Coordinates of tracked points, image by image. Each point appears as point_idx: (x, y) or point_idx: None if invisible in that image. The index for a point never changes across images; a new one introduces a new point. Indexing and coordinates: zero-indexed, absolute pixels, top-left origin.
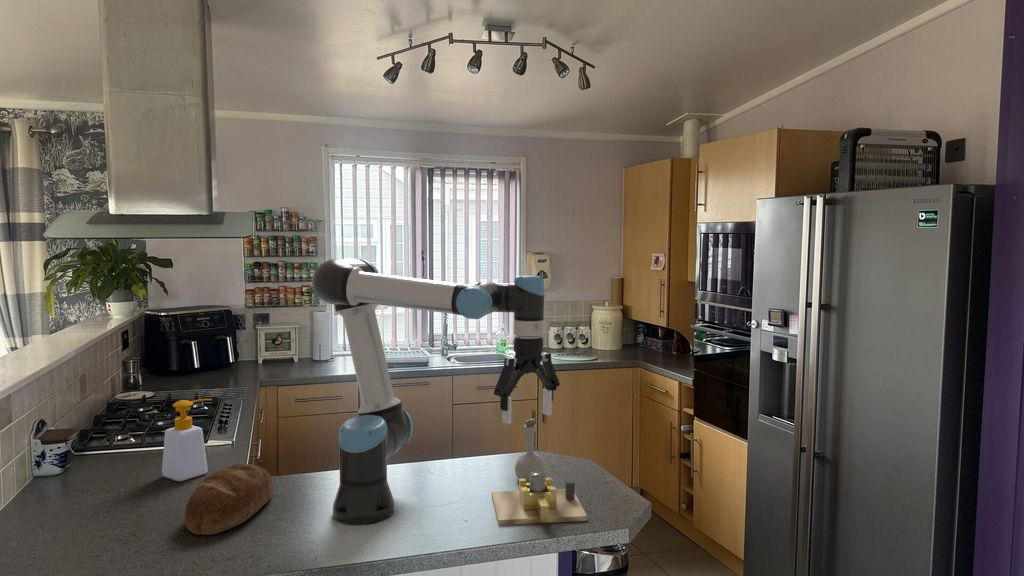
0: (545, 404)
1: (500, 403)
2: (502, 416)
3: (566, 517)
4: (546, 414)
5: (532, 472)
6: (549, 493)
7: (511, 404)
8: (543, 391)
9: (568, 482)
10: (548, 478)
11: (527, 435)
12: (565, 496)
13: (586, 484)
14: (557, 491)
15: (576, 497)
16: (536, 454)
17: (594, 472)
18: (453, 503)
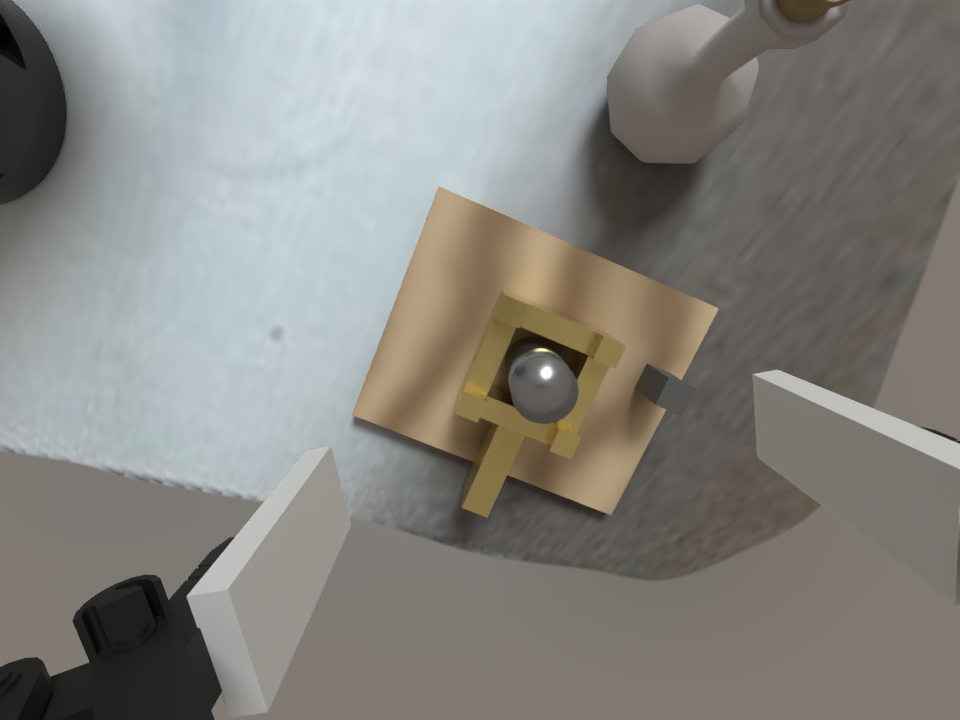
0: (811, 446)
1: (181, 586)
2: (291, 474)
3: (551, 491)
4: (757, 425)
5: (533, 369)
6: (549, 435)
7: (296, 646)
8: (932, 469)
9: (666, 398)
10: (612, 350)
11: (743, 25)
12: (647, 365)
13: (812, 263)
14: (655, 306)
15: None
16: (741, 74)
17: (935, 167)
18: (286, 179)
